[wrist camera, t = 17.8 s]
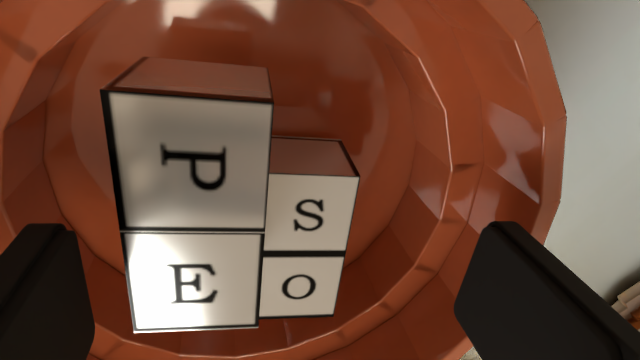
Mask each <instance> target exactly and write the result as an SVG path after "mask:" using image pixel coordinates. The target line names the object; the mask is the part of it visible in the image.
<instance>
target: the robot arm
mask: <svg viewBox="0 0 640 360" xmlns="http://www.w3.org/2000/svg"><path fill="white" fill-rule="evenodd" d="M454 314H455V317H456V319H457V321H458V322H459V324H460V325H461V327H462V329H463V330H464V332H465V333H466V335H467V337H468V338H469V340H470V341H471V343H472V344H473V346H474V348H475V349H476V351H477V352H478V354H479V356H480V357H481V359H482V360H640V332H639V331H638V330H637V329H636V328H635V327H633V326H632V325H631V324H630V323H629V322H628V321H627V320H626V319H625V318H623V317H622V316H621V315H620V314H619V313H618V312H617V311H616V310H614V309H613V308H612V307H611V306H610V305H609V304H608V303H607V302H606V301H604V300H603V299H602V298H601V297H600V296H599V295H598V294H597V293H595V292H594V291H593V290H592V289H591V288H590V287H589V286H588V285H587V284H585V283H584V282H583V281H582V280H581V279H580V278H579V277H578V276H576V275H575V274H574V273H573V272H572V271H571V270H570V269H569V268H568V267H566V266H565V265H564V264H563V263H562V262H561V261H560V260H559V259H557V258H556V257H555V256H554V255H553V254H552V253H551V252H550V251H549V250H547V249H546V248H545V247H544V246H543V245H542V244H541V243H540V242H538V241H537V240H536V239H535V238H534V237H533V236H532V235H531V234H529V233H528V232H527V231H526V230H525V229H524V228H523V227H522V226H521V225H519V224H518V223H517V222H514V221H492V222H490V223H489V224H488V225H487V227H485V228H483V229H482V231H481V233H480V236H479V239H478V241H477V244H476V247H475V249H474V252H473V255H472V257H471V260H470V263H469V265H468V268H467V270H466V273H465V276H464V278H463V281H462V284H461V286H460V289H459V292H458V294H457V297H456V300H455V302H454ZM94 335H95V322H94V317H93V313H92V308H91V303H90V298H89V293H88V288H87V283H86V278H85V274H84V269H83V264H82V259H81V254H80V249H79V244H78V239H77V235H76V233H75V231H73V230H67V229H66V227H65V225H64V224H62V223H30V224H27V225H26V226H25V227H24V228H23V229H22V230H21V231H20V232H19V234H18V235H17V236H16V237H15V238H14V240H13V241H12V242H11V243H10V244H9V246H8V247H7V248H6V249H5V250H4V252H3V253H2V254H1V255H0V360H86V359H87V356H88V354H89V351H90V348H91V346H92V343H93V340H94Z"/></svg>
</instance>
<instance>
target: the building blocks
mask: <svg viewBox="0 0 640 360" xmlns="http://www.w3.org/2000/svg"><path fill="white" fill-rule="evenodd" d="M99 90H100V97H101V104H102V111H103V118H104V125H105V132H106V139H107V146H108V153H109V160H110V167H111V174H112V181H113V189H114V196H115V203H116V210H117V217H118V224H119V231H120V238H121V245H122V252H123V259H124V266H125V273H126V280H127V288H128V295H129V302H130V309H131V316H132V323H133V330H134V333H146V332H172V331H197V330H222V329H248V328H258V327H259V320H260V319H288V318H317V317H334V312H335V307H336V302H337V297H338V291H339V286H340V281H341V276H342V271H343V265H344V260H345V255H346V250H347V245H348V239H349V234H350V229H351V224H352V219H353V213H354V208H355V203H356V198H357V193H358V188H359V182H360V177H361V176H360V174H359V172H358V170H357V168H356V167H355V165H354V163H353V161H352V159H351V157H350V155H349V153H348V152H347V150H346V148H345V146H344V144H343V142H342V140H341V139H329V138H312V137H295V136H277V135H272V126H273V112H274V99H273V93H272V87H271V82H270V76H269V70H268V68H265V67H254V66H243V65H232V64H221V63H210V62H199V61H188V60H177V59H166V58H156V57H145V56H142V57H141V58H140V59H138V60H137V61H136V62H134V63H133V64H132V65H131V66H129V67H128V68H127V69H125V70H124V71H123V72H121V73H120V74H119V75H118V76H116V77H115V78H114V79H112V80H111V81H110V82H109V83H107V84H106V85H105V86H103V87H102V88H101V89H99Z"/></svg>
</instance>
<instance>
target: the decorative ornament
mask: <svg viewBox="0 0 640 360" xmlns="http://www.w3.org/2000/svg"><path fill="white" fill-rule="evenodd" d="M617 297H618V301H617V302H615V304H614V305H612V306H611V307H612V308H613V309H614V310H616V311H617V312H618V313H619V314H620V315H621V316H622V317H623V318H625V319H626V320H627V321H628V322H629V323H630V324H631V325H632V326H633V327H635V328H636V329H637V330H638V331H639V332H640V282H638V283H637V284H635V285H633V286H632V287H630V288H629V289H627V290H626V291H624V292H623V293H621V294H620V295H618V296H617Z"/></svg>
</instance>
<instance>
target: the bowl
mask: <svg viewBox="0 0 640 360" xmlns="http://www.w3.org/2000/svg"><path fill="white" fill-rule="evenodd" d="M142 56H145V57H156V58H166V59H177V60H188V61H199V62H210V63H221V64H232V65H243V66H254V67H265V68H268V70H269V76H270V82H271V87H272V93H273V99H274V112H273V126H272V135H277V136H295V137H312V138H329V139H341V140H342V142H343V144H344V146H345V148H346V150H347V152H348V153H349V155H350V157H351V159H352V161H353V163H354V165H355V167H356V168H357V170H358V172H359V174H360V176H361V177H360V182H359V188H358V193H357V198H356V203H355V208H354V213H353V219H352V224H351V229H350V234H349V239H348V245H347V250H346V255H345V260H344V265H343V271H342V276H341V281H340V286H339V291H338V297H337V302H336V307H335V312H334V317H317V318H288V319H260V320H259V327H258V328H248V329H222V330H197V331H172V332H146V333H134V330H133V323H132V316H131V309H130V302H129V295H128V288H127V280H126V273H125V266H124V259H123V252H122V245H121V238H120V231H119V224H118V217H117V210H116V203H115V196H114V189H113V181H112V174H111V167H110V160H109V153H108V146H107V139H106V132H105V125H104V118H103V111H102V104H101V97H100V90H99V89H101V88H102V87H103V86H105V85H106V84H107V83H109V82H110V81H111V80H112V79H114V78H115V77H116V76H118V75H119V74H120V73H121V72H123V71H124V70H125V69H127V68H128V67H129V66H131V65H132V64H133V63H134V62H136V61H137V60H138V59H140V58H141V57H142ZM566 121H567V117H566V110H565V106H564V103H563V99H562V96H561V92H560V89H559V85H558V82H557V78H556V75H555V71H554V68H553V64H552V61H551V57H550V54H549V51H548V47H547V44H546V40H545V37H544V33H543V30H542V26H541V23H540V21H538V17H537V16H536V15H535V14H534V12H533V11H532V10H531V8H530V7H529V6H528V5H527V3H526V2H525V1H524V0H0V255H1V254H2V253H3V252H4V250H5V249H6V248H7V247H8V246H9V244H10V243H11V242H12V241H13V240H14V238H15V237H16V236H17V235H18V234H19V232H20V231H21V230H22V229H23V228H24V227H25V226H26V225H27V224H30V223H62V224H64V225H65V227H66V229H67V230H73V231H75V233H76V235H77V239H78V244H79V249H80V254H81V259H82V264H83V269H84V274H85V278H86V283H87V288H88V293H89V298H90V303H91V308H92V313H93V317H94V322H95V335H94V340H93V343H92V346H91V348H90V351H89V354H88V356H87V359H86V360H459V359H460V358H461V357H462V356H463V355H464V354H465V353H466V352H468V351H469V350H470V349H471V348H472V347H473V344H472V343H471V341H470V340H469V338H468V337H467V335H466V333H465V332H464V330H463V329H462V327H461V325H460V324H459V322H458V321H457V319H456V317H455V314H454V302H455V300H456V297H457V294H458V292H459V289H460V286H461V284H462V281H463V278H464V276H465V273H466V270H467V268H468V265H469V263H470V260H471V257H472V255H473V252H474V249H475V247H476V244H477V241H478V239H479V236H480V233H481V231H482V229H483V228H485V227H487V225H488V224H489V223H490V222H492V221H514V222H517V223H518V224H519V225H521V226H522V227H523V228H524V229H525V230H526V231H527V232H528V233H529V234H531V235H532V236H533V237H534V238H535V239H536V240H537V241H538V242H540V243H541V244H542V245H544V242H545V240H546V237H547V234H548V232H549V229H550V227H551V224H552V222H553V219H554V217H555V214H556V212H557V209H558V206H559V204H560V199H561V190H562V176H563V163H564V149H565V135H566Z"/></svg>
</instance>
